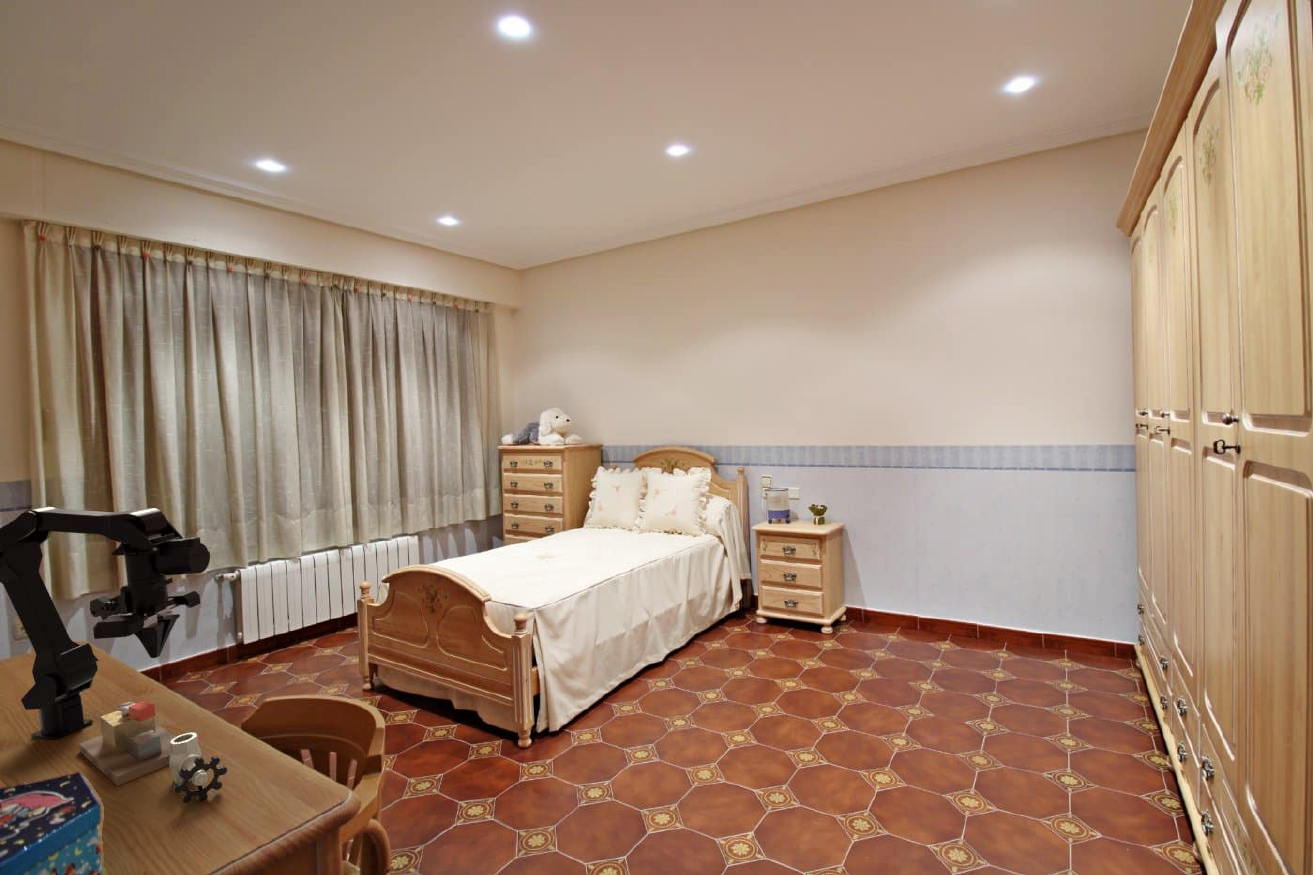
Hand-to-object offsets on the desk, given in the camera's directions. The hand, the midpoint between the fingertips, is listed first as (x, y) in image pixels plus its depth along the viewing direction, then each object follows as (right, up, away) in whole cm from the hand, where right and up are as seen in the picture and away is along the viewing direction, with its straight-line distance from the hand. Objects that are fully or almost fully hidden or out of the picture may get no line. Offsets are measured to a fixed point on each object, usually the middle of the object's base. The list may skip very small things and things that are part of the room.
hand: (155, 657), depth 119 cm
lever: (+5, -6, -10) cm, 13 cm away
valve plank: (+4, -13, -10) cm, 17 cm away
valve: (+23, -13, -21) cm, 33 cm away
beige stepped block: (+4, -12, -10) cm, 16 cm away
